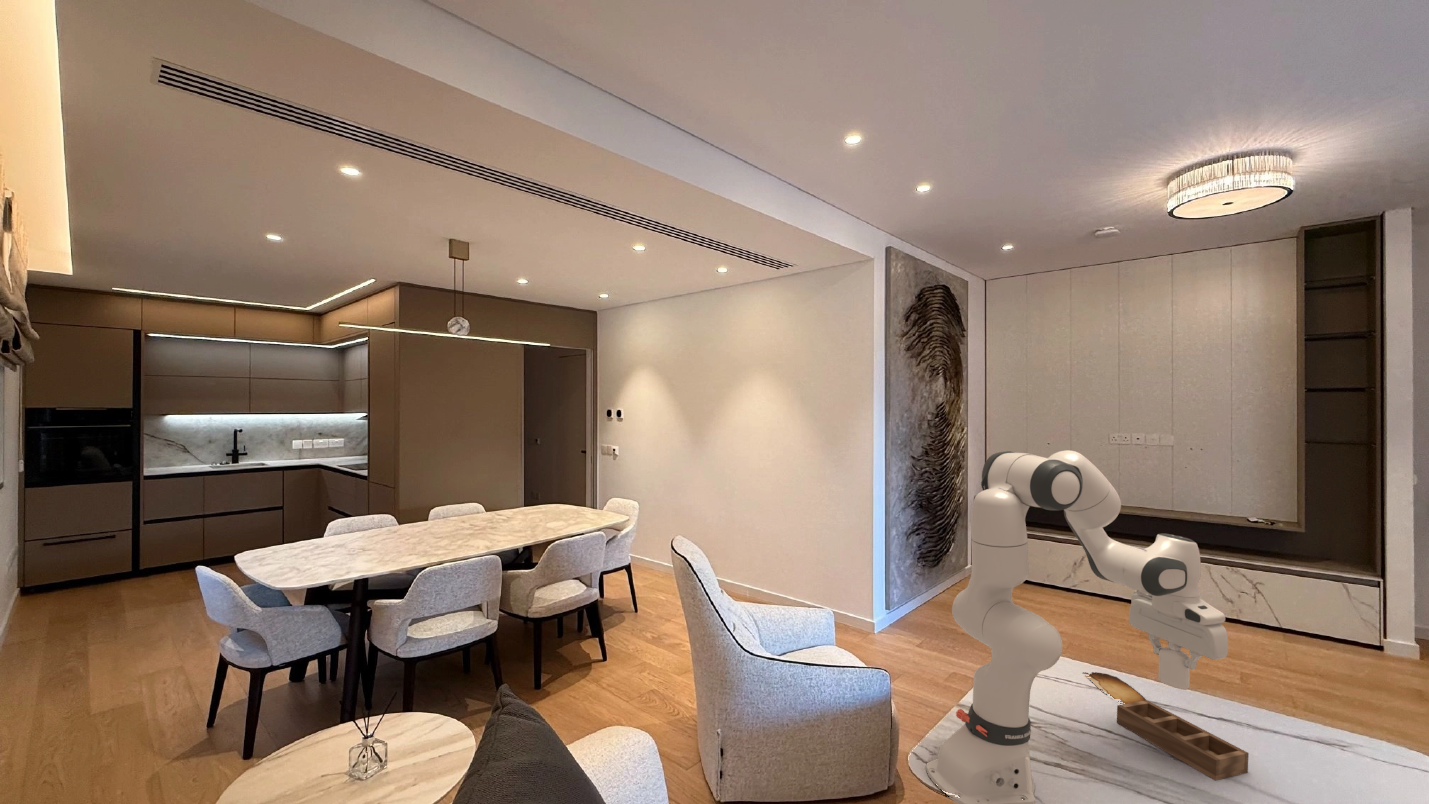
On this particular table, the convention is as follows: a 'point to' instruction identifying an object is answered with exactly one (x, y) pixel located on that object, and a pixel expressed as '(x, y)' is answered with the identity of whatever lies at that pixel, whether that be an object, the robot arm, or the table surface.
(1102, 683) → the parchment
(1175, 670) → the eye dropper bottle
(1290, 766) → the table surface
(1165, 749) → the slot rack
